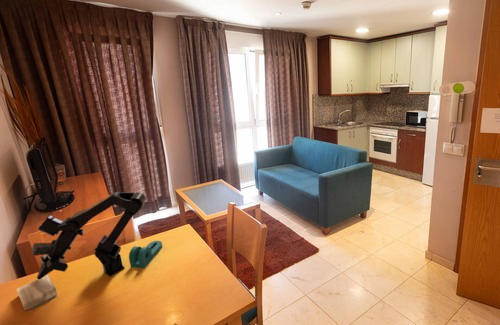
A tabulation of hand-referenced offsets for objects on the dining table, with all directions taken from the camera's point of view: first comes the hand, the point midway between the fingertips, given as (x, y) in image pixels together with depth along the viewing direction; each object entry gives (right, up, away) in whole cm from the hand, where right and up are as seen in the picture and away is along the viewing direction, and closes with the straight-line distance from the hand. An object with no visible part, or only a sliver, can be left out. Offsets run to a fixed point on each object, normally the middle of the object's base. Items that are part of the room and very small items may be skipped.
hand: (38, 278), depth 100 cm
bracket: (+35, +1, +22) cm, 41 cm away
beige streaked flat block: (+3, -4, +4) cm, 6 cm away
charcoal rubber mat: (0, -7, +1) cm, 7 cm away
